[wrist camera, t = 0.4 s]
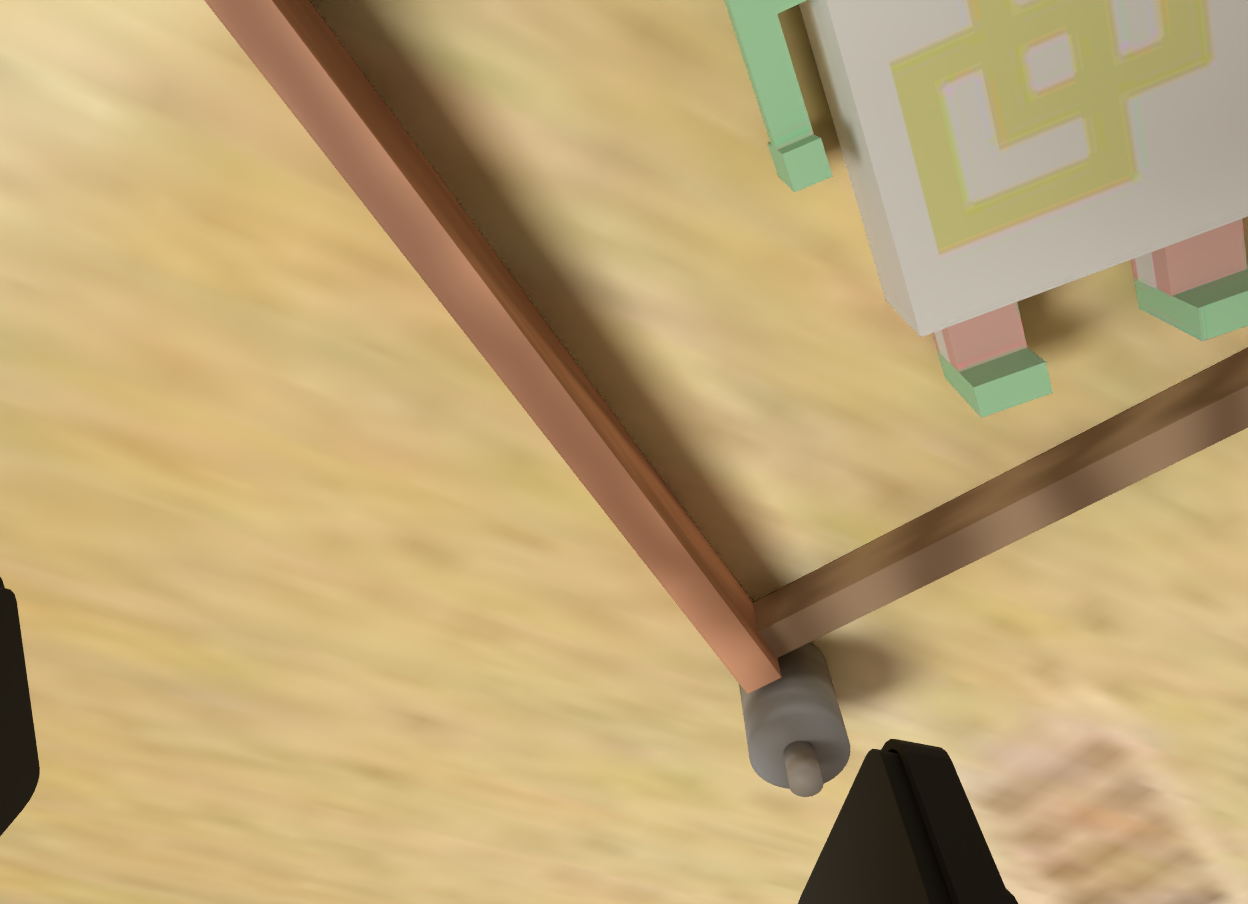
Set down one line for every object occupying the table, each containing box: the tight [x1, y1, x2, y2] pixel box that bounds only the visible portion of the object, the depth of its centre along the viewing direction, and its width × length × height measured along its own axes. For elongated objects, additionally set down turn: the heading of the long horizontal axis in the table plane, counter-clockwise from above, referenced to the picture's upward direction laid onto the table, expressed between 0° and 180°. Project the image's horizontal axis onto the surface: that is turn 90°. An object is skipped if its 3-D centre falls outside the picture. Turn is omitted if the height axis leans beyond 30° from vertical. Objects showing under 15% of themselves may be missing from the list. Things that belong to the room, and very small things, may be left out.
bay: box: [205, 0, 1248, 797], centre depth 32 cm, size 38×46×8 cm
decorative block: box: [724, 0, 1248, 418], centre depth 30 cm, size 26×6×20 cm
